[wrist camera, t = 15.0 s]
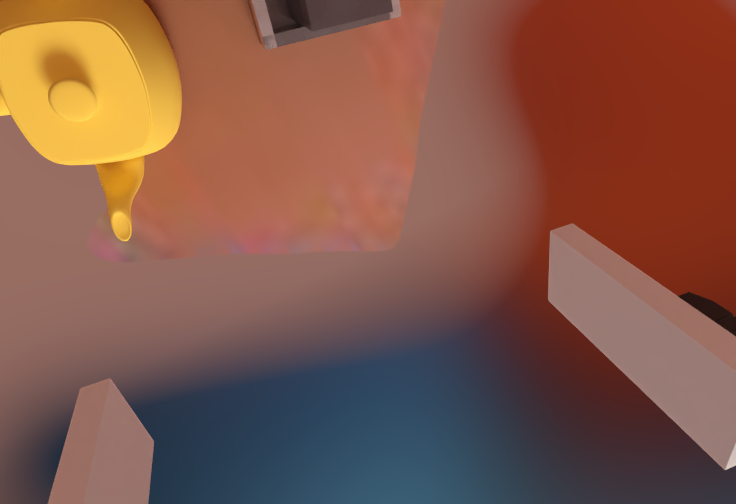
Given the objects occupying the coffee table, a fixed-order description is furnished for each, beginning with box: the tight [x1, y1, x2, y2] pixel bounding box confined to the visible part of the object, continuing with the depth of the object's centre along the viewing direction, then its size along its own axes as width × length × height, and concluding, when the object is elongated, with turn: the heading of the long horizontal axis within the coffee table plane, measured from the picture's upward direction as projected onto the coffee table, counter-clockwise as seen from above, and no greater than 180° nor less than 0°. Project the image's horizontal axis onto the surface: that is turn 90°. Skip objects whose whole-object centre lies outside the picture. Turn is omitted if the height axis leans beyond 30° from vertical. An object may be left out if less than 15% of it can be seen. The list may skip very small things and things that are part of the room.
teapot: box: [0, 0, 182, 241], centre depth 36 cm, size 22×16×11 cm
